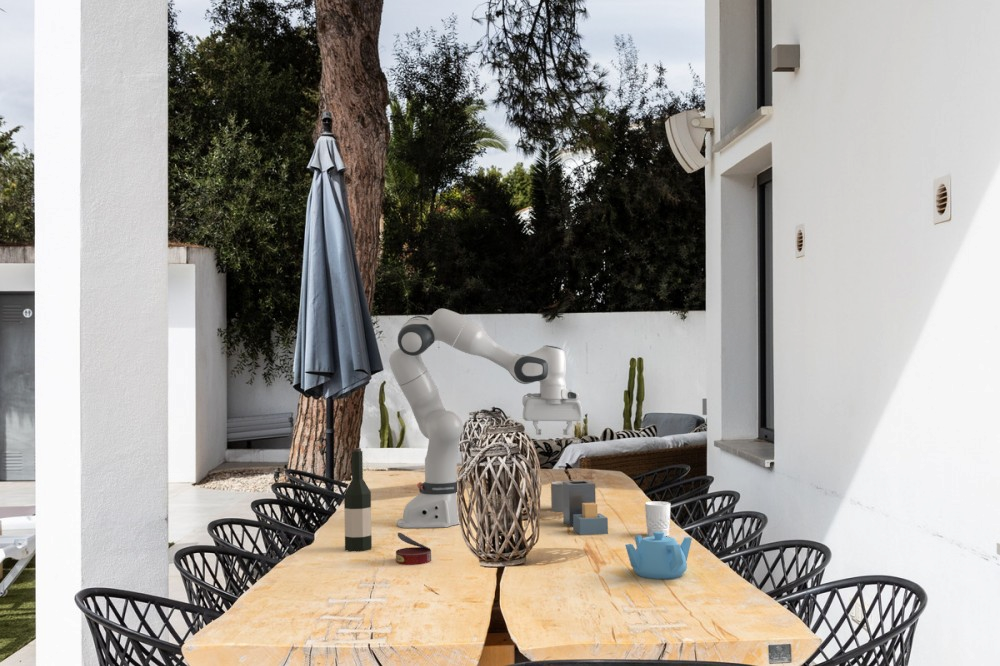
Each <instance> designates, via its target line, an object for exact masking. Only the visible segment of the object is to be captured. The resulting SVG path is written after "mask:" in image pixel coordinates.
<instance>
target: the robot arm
mask: <svg viewBox="0 0 1000 666" xmlns="http://www.w3.org/2000/svg"><path fill="white" fill-rule="evenodd" d="M436 341H439V342H442V343H444V344H447V345H448V346H450V347H452V348H454V349H456V350H458V351H460V352H462V353H465V354H468V355H472V356H477V357H480V358H481V357H482V358H484V359H487V360H489V361H491V362H493V363H494V364H496V365H498V366H500V367H501V368H503V369H505V370H506V371H508V373H509V374H510V376H511V377H512V378H513V380H514V381H516V382H518V383H519V384H522V385H529V384H532V383H535V382H539V393H537V392H536V393H529V392H528V393H526V394H525V395H523V397H522V405H523V409H522V410H523V411H522V419H523V420H524V421H525V422H532V425H533V426H534V428H535V435H536V436H537V435H538V436H540V435H542V429H541V428H539V427H538V424H539V422H566V425H567V426H566V427H565V428H564V429H562V434H563V435H565V436H568V435H570V433H569V431H570V429H571V427H572V425H573V422H581V421H582V420H583V407H582V402H581V401H580V394H579V393H578V392H576V391H573V390H571V389H568V388H567V382H566V374H567V357H566V352H565V350H563V349H562V348H560V347H557V346H553V345H543V346H542V347H540V348H539V349H537V350H535V351H533V352H530V353H528V354H519V353H515V352H513V351H511V350H509V349H508V348H506V347H504V346H502V345H501V344H498V343H497V342H496V341H494V340H493V339H492V337H490V335H489V334H488V333H487V331H486V330H485V329H484V328H483V327H482V326H481V325H479V324H478V323H477V322H475V321H474V320H472V319H470V318H468V317H466V316H464V315H463V314H460V313H458V312H456V311H453V310H450V309H448V308H447V309H446V308H438V309H437V310H436V311H434V312H433V313H432V315H431V316H430V318H428V317H426V316H421V315H416V316H413V317H411V318H409V319H408V320H407V321H406V322H405V323H404V324H402V327H401V328H400V330H399V332H398V334H397V345H398V348H396V349H395V350H393V351H392V352H391V354H390V355H389V359H388V362H389V366H390V369H391V372H392V374H393V377H394V378H395V381H396V382H397V384H398V386H399V388H400V391H402V393H403V395H404V398H406V400H407V402H408V404H409V406H410V408H411V411H412V413H413V416H414V419H415V421H416V423H417V425H418V429H419V431H420V433H421V434H422V435H423V436H424V437H425V438H426V439H428V446H427V452H426V456H425V457H424V482H420V481H419V482H418V483H417V485H416V486H417V488H418V490H419V493H418V494H417V495H416V496H415V497H414V498H412V499H411V500H410V501H409V502H407V504H406V505H405V506H404V508H403V512H402V513H403V514H402V518H400V519H397V520H396V526H397V527H400V528H403V529H417V528H418V529H421V528H430V529H431V528H432V529H433V528H448V527H452V526H457V525H460V524H459V522H458V515H457V501H456V492H457V481H458V453H459V447H460V440H461V435H462V434H463V430H464V424H463V421H462V419H461V418H460V416H459V415H457V413H455V412H454V411H451V410H446V408H445V406H444V405H443V403H442V399H441V396H440V394H439V389H438V386H437V385H436V383H435V380H434V379H433V378H432V375H431V374H430V372H429V371H428V369H427V367H426V366H425V363H424V362H423V359H422V354H423V353H424V352H426V351H427V350H428V349H429V347H431V346H432V345H433V344H434V343H435V342H436Z"/></svg>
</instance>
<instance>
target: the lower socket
mask: <svg viewBox="0 0 1000 666" xmlns="http://www.w3.org/2000/svg"><path fill="white" fill-rule="evenodd" d="M597 513H598V512H597ZM608 523H609V521H608V517H607V516H605V515H603V514H601V512H600V513H598V517H595V518H583V517H582V514H576V515H573V527H572V528H573V532H575V533H577V534H578V535H580V536H587V535H588V536H591V535H608V534H609V526H608V525H609V524H608Z"/></svg>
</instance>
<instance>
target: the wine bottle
mask: <svg viewBox="0 0 1000 666" xmlns="http://www.w3.org/2000/svg"><path fill="white" fill-rule="evenodd" d="M363 459H364V458H363V450H362V448H361V447H357V448H356V447H355V448H352V451H351V481H350V482H349V485H348V487H347V488H346V490H345V492H344V493H343V494H344V495H343V496H344V498H343V499H344V507H343V508H344V551H346V550H348V551H347V552H351V551H356V552H366V551H370V550H372V548H373V547H372V545H373V544H372V543H373V542H372V491H371V489H370V488H369V486H368V485H367V483H366V482H365V480H364V478H363V477H364V473H363V472H364V471H363V469H364V466H363V465H364V464H363V463H364V461H363Z"/></svg>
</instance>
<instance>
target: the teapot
mask: <svg viewBox="0 0 1000 666" xmlns="http://www.w3.org/2000/svg"><path fill="white" fill-rule="evenodd" d="M653 535H654V536H645V537H643V536H642V535H634V541H635V545H636V548H635V546H634V544H632V543H628V544H625V549H626V552H627V556H628V558H629V559H628V560H629V562H630V566H631V568H632V570H633V571H634V572H635V574H636V575H637V576H639V577H642V578H645V579H652V580H653V579H654V580H669V579H676V578H680V577H682V576H683V574H685V572H686V571H687V568H688V566H687V564H688V563H687V561H688V557H689V553H690V548H691V544H692V540H693V538H692V537H689V536H686V537H684V538H683V540H682V542H681V544H679V543H678V542H677V540H676V539H675V538H673V537H672V536H670V537H669V536H667V537H666V536H664V532H653Z"/></svg>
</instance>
